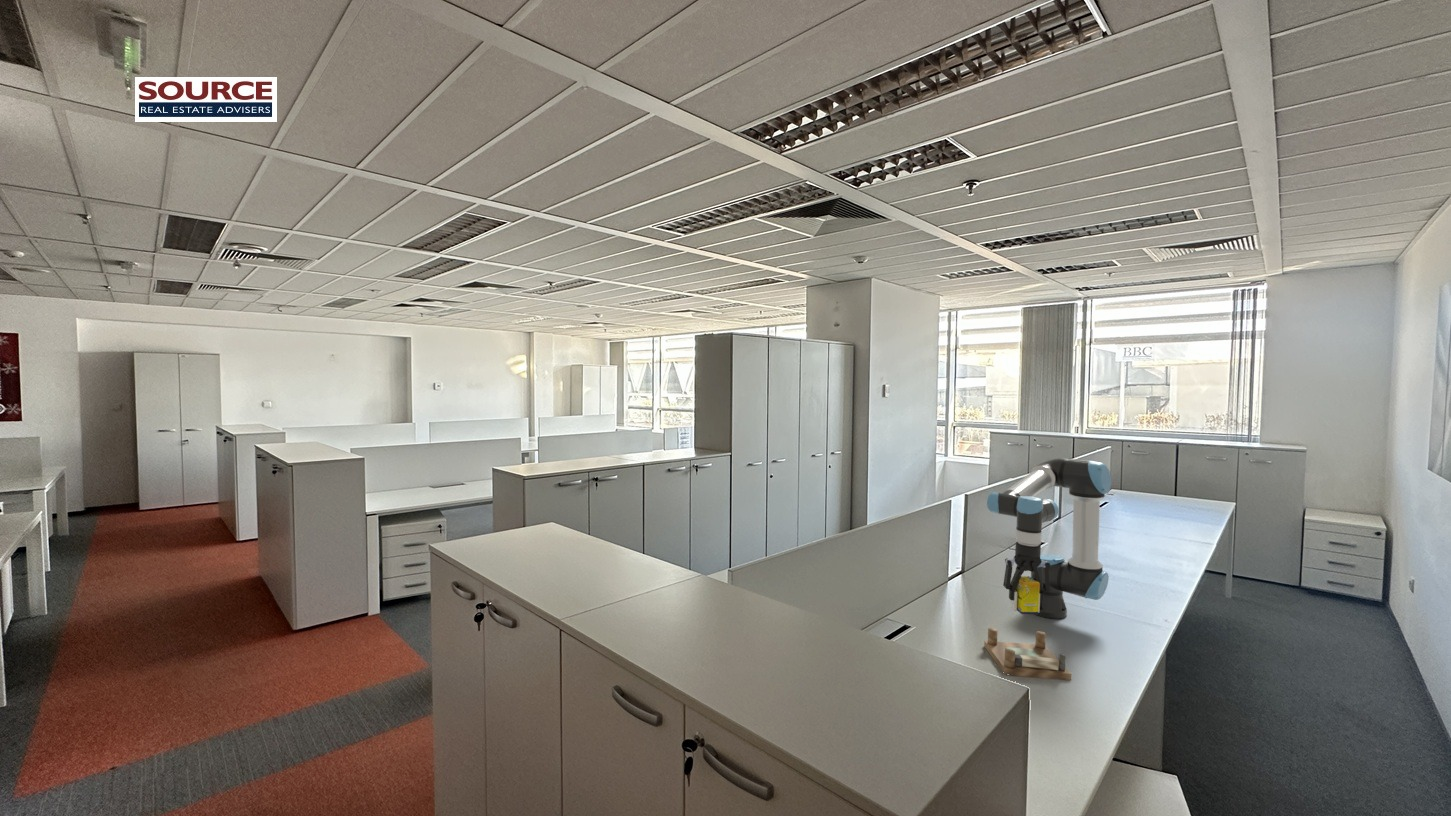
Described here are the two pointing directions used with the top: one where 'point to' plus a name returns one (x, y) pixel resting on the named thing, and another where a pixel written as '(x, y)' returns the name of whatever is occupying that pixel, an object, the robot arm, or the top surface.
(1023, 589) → the supplement box
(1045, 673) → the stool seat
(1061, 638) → the top surface
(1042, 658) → the stool leg
